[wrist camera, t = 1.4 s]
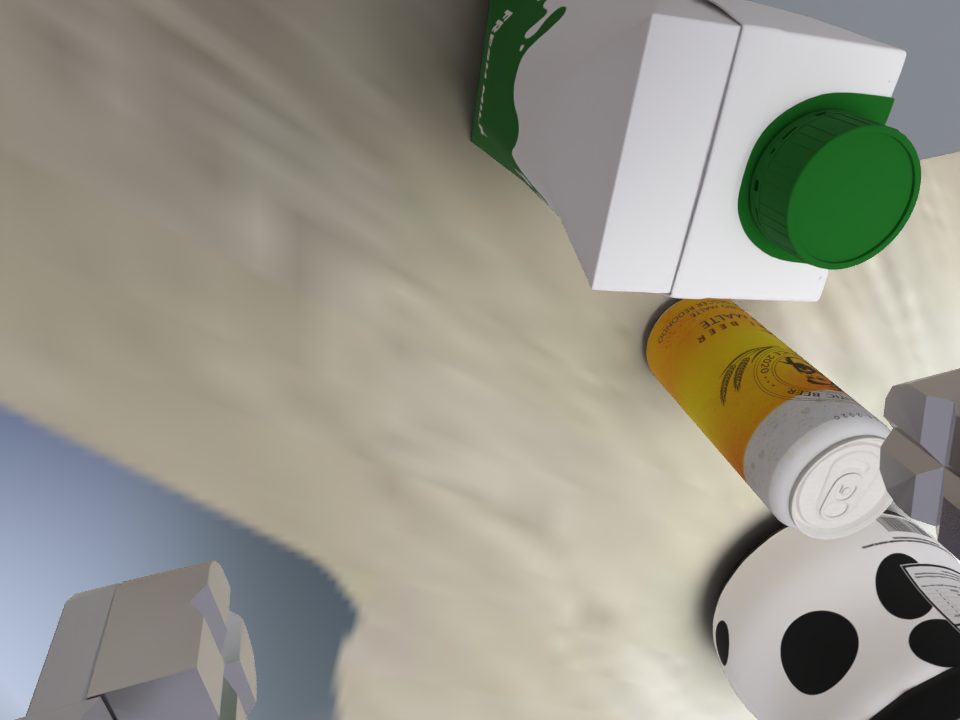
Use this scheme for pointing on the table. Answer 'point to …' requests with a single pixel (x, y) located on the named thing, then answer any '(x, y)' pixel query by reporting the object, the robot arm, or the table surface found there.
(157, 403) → the table surface
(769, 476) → the beer can
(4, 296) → the table surface
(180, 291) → the table surface
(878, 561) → the milk container
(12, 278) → the table surface
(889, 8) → the mat
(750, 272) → the white carton
